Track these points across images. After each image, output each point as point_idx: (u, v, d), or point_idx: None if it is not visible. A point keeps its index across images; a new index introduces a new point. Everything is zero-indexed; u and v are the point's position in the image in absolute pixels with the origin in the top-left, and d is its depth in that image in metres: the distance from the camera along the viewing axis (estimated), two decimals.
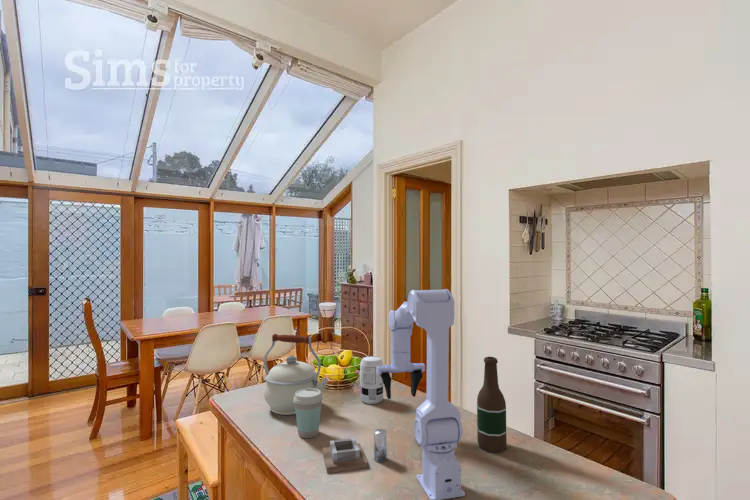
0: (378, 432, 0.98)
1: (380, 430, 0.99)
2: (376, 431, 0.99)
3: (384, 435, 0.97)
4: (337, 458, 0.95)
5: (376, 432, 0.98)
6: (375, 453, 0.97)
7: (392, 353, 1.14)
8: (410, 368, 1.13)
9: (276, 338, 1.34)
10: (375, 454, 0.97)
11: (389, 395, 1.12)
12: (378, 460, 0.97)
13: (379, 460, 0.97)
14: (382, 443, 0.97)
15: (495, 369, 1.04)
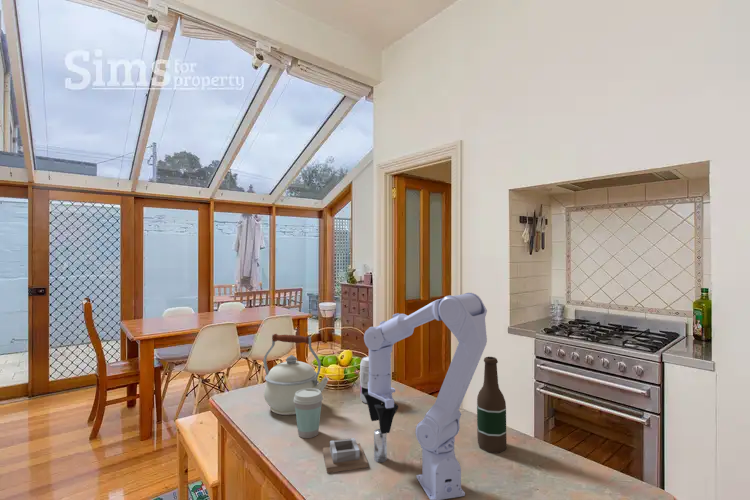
0: (378, 432, 0.98)
1: None
2: (376, 431, 0.99)
3: (384, 435, 0.97)
4: (337, 458, 0.95)
5: (376, 432, 0.98)
6: (375, 453, 0.97)
7: None
8: (373, 395, 0.96)
9: (276, 338, 1.34)
10: (375, 454, 0.97)
11: (370, 416, 1.02)
12: (378, 460, 0.97)
13: (379, 460, 0.97)
14: (382, 443, 0.97)
15: (495, 369, 1.04)
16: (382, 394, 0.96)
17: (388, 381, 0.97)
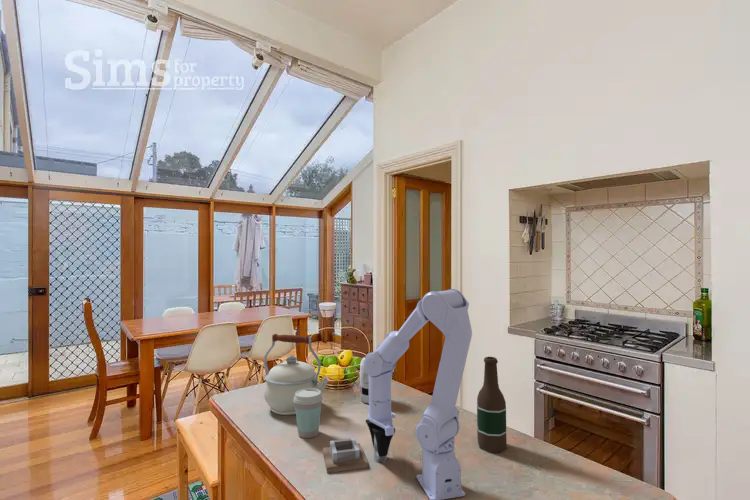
0: None
1: None
2: None
3: None
4: (337, 458, 0.95)
5: None
6: (375, 453, 0.97)
7: None
8: (374, 421, 0.96)
9: (276, 338, 1.34)
10: (375, 454, 0.97)
11: (373, 444, 1.00)
12: (378, 460, 0.97)
13: (379, 460, 0.97)
14: None
15: (495, 369, 1.04)
16: (382, 420, 0.96)
17: (388, 407, 0.97)
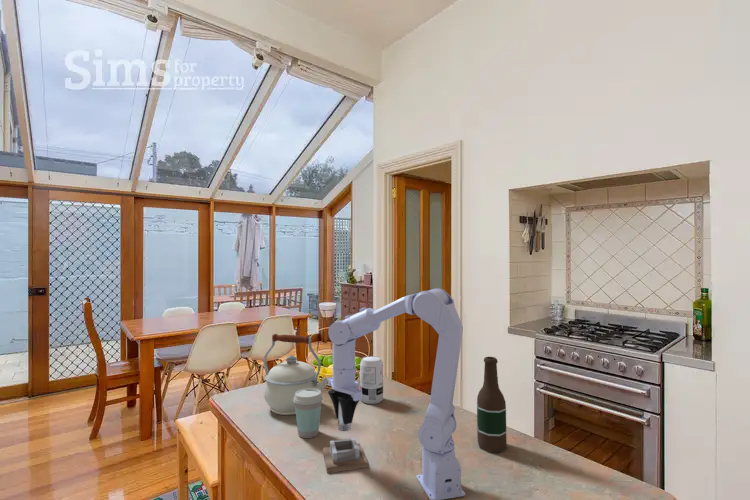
0: None
1: None
2: None
3: None
4: (337, 458, 0.95)
5: None
6: (340, 422, 0.97)
7: None
8: (339, 389, 0.95)
9: (276, 338, 1.34)
10: (340, 423, 0.97)
11: (336, 414, 0.99)
12: (343, 429, 0.97)
13: (344, 429, 0.97)
14: None
15: (495, 369, 1.04)
16: (348, 388, 0.96)
17: (353, 374, 0.97)
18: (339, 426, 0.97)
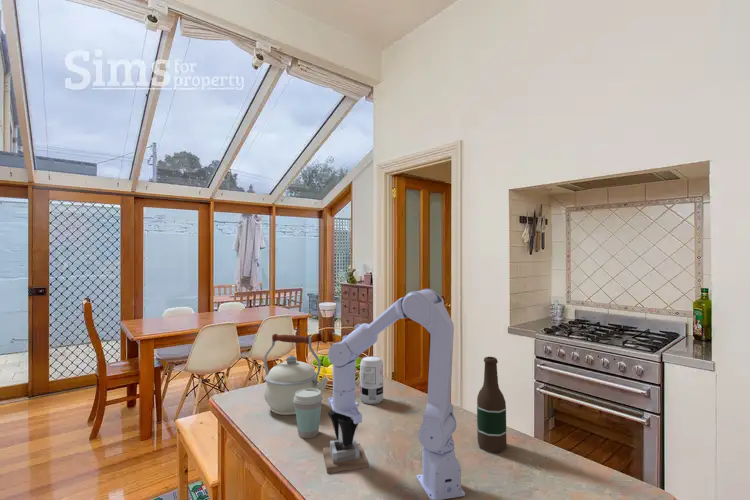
0: None
1: None
2: None
3: None
4: (337, 458, 0.95)
5: None
6: (340, 444, 0.97)
7: None
8: (339, 412, 0.95)
9: (276, 338, 1.34)
10: (340, 445, 0.97)
11: (336, 435, 0.99)
12: None
13: None
14: None
15: (495, 369, 1.04)
16: (348, 410, 0.96)
17: (353, 396, 0.97)
18: (339, 448, 0.97)
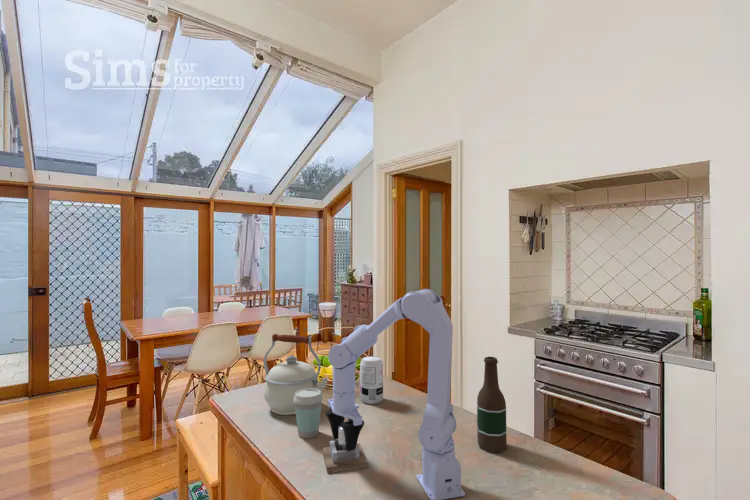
0: None
1: None
2: (340, 427, 0.98)
3: None
4: (337, 458, 0.95)
5: (341, 428, 0.98)
6: (340, 449, 0.97)
7: None
8: (339, 413, 0.95)
9: (276, 338, 1.34)
10: None
11: (333, 435, 1.01)
12: None
13: None
14: None
15: (495, 369, 1.04)
16: (348, 412, 0.96)
17: (353, 398, 0.97)
18: None
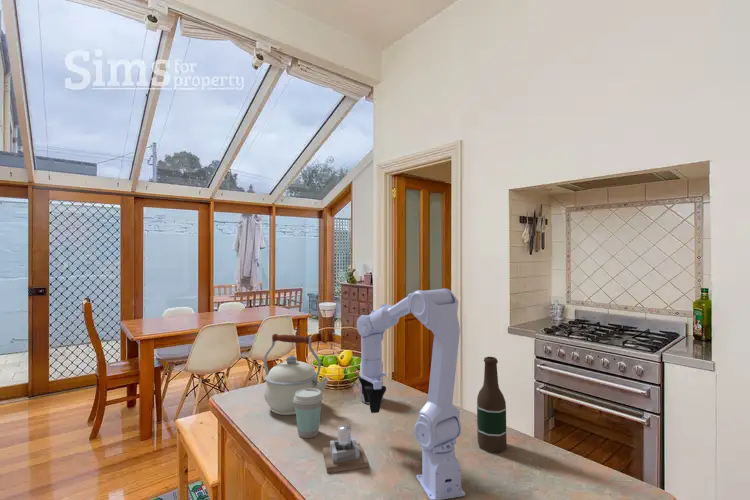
0: (343, 428, 0.98)
1: (344, 426, 0.99)
2: (340, 427, 0.98)
3: (349, 430, 0.97)
4: (337, 458, 0.95)
5: (340, 428, 0.98)
6: (340, 449, 0.97)
7: None
8: (364, 378, 1.05)
9: (276, 338, 1.34)
10: None
11: (364, 398, 1.11)
12: None
13: None
14: (347, 438, 0.97)
15: (495, 369, 1.04)
16: (372, 377, 1.04)
17: (378, 365, 1.05)
18: None
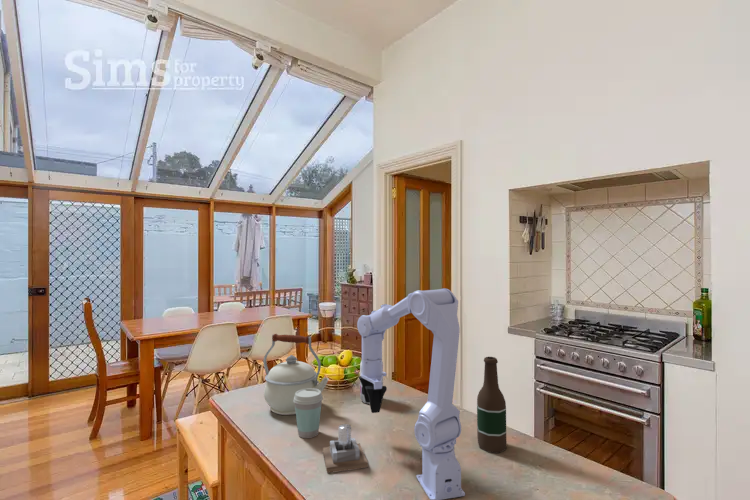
0: (343, 427, 0.98)
1: (344, 425, 0.99)
2: (340, 426, 0.98)
3: (349, 430, 0.98)
4: (337, 458, 0.95)
5: (341, 427, 0.98)
6: (340, 449, 0.97)
7: None
8: (365, 377, 1.05)
9: (276, 338, 1.34)
10: None
11: None
12: None
13: None
14: (347, 438, 0.97)
15: (495, 369, 1.04)
16: (373, 377, 1.04)
17: (379, 365, 1.05)
18: None
